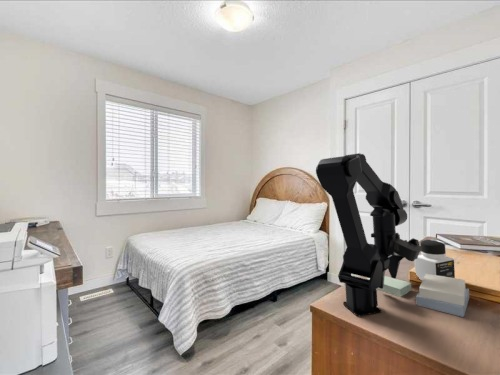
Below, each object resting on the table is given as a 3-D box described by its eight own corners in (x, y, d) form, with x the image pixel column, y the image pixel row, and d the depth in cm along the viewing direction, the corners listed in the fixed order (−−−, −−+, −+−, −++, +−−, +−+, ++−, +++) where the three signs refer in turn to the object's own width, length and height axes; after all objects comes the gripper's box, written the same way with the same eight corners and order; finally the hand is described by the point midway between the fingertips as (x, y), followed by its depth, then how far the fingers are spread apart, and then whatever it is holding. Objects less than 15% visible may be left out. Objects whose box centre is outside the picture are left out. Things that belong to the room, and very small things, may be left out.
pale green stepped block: (366, 286, 76) (365, 278, 76) (377, 281, 79) (376, 273, 79) (400, 298, 67) (400, 289, 67) (411, 291, 70) (411, 283, 70)
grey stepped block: (464, 317, 56) (463, 297, 56) (416, 304, 63) (415, 287, 62) (469, 297, 64) (468, 280, 64) (427, 288, 71) (426, 272, 71)
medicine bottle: (437, 286, 71) (434, 245, 71) (414, 278, 78) (412, 240, 78) (455, 282, 73) (453, 241, 73) (432, 274, 80) (430, 237, 80)
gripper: (403, 240, 60) (407, 303, 61) (427, 227, 72) (430, 280, 73) (358, 234, 69) (362, 290, 69) (386, 223, 81) (389, 271, 81)
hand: (387, 283), depth 73 cm, fingers open, 9 cm apart
